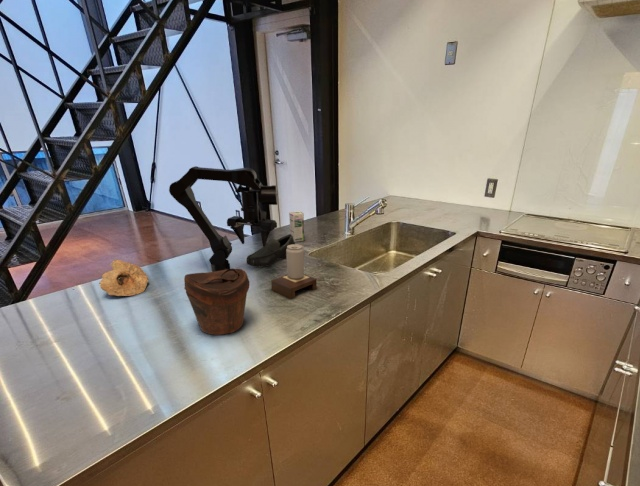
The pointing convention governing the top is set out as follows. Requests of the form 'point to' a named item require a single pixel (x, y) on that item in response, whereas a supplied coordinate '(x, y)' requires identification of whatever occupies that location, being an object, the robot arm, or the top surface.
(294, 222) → the syrup box
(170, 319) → the top surface
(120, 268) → the tan lumpy piece
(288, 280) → the wooden display riser
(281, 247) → the loafer
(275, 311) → the top surface
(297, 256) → the beverage can
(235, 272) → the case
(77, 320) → the top surface
